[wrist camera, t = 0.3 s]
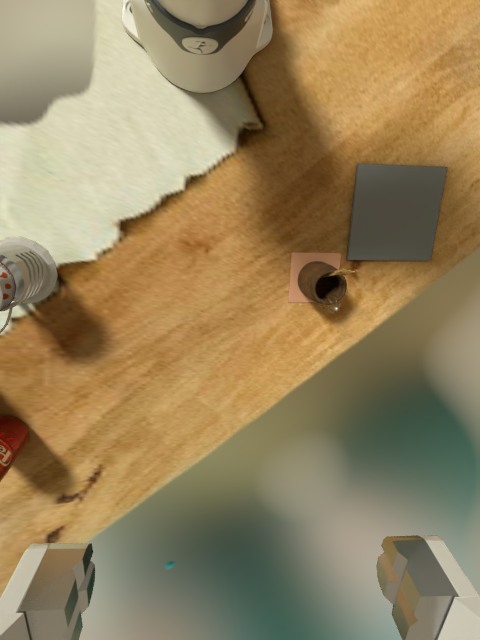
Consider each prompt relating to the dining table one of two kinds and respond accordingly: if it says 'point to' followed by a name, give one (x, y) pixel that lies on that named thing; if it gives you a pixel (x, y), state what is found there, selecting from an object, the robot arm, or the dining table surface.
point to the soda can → (11, 442)
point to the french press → (24, 273)
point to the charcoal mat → (395, 212)
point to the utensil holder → (323, 283)
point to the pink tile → (299, 262)
